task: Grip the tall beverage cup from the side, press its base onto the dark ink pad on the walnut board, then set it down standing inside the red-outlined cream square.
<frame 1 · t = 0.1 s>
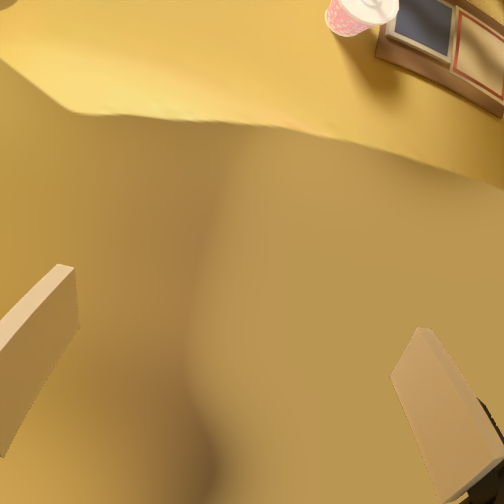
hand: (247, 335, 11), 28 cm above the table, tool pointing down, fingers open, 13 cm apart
beverage cup: (343, 20, 29), on the table
stamp board: (452, 39, 29), on the table
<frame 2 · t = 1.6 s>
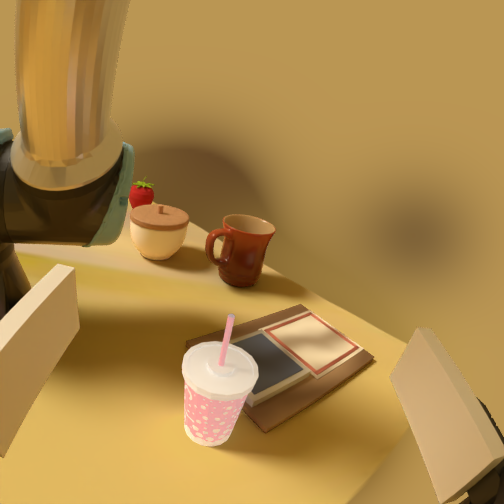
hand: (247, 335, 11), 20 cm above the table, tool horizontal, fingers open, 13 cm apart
strawberry: (139, 217, 74), on the table
beverage cup: (207, 428, 28), on the table
stamp board: (286, 357, 40), on the table
lidded jar: (155, 253, 59), on the table
mug: (230, 281, 56), on the table
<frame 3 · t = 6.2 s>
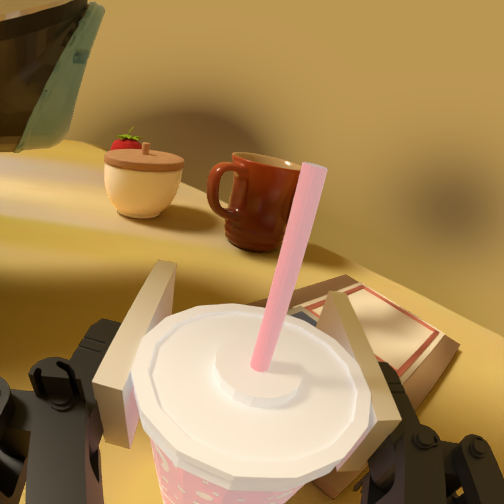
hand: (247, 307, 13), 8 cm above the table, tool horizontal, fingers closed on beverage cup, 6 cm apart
strawberry: (122, 178, 57), on the table
beverage cup: (214, 501, 11), on the table, touching gripper
stamp board: (343, 350, 24), on the table
lidded jar: (138, 212, 42), on the table
mug: (241, 245, 39), on the table
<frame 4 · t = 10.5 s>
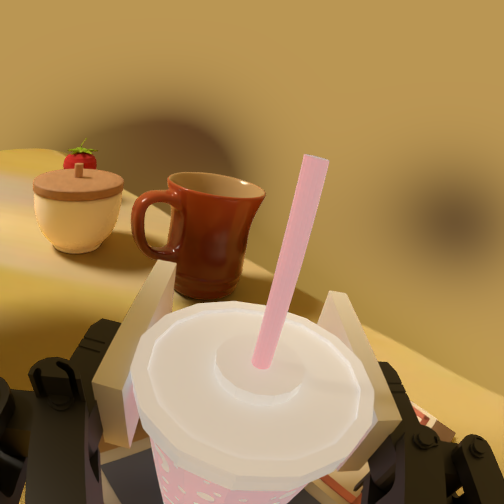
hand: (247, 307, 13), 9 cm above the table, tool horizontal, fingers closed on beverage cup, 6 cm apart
strawberry: (78, 196, 49), on the table
beverage cup: (215, 502, 11), point 2 cm above the table, touching gripper, stamp board
stamp board: (287, 462, 15), on the table
lidded jar: (77, 244, 34), on the table
mug: (186, 289, 31), on the table
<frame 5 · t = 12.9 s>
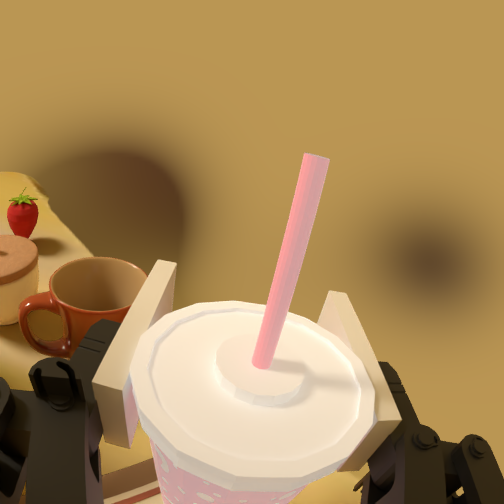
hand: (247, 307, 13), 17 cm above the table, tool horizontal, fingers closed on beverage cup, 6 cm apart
strawberry: (24, 244, 46), on the table
beverage cup: (215, 502, 11), point 10 cm above the table, touching gripper
lidded jar: (7, 311, 31), on the table
mug: (91, 373, 28), on the table
when the fingers open (9 cm above the table, at t = 14.9 s): beverage cup stays where it is, resting on stamp board.
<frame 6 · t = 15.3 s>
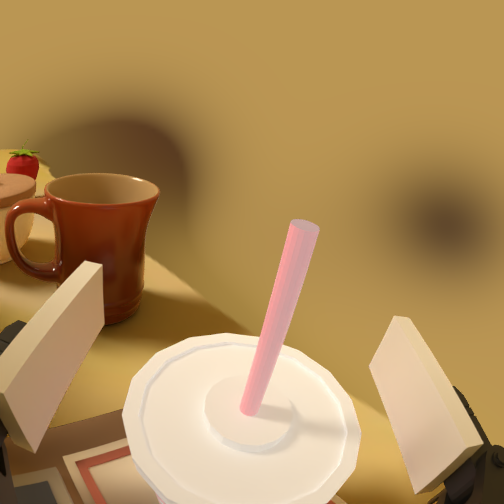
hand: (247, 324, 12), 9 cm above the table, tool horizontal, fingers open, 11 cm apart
strawberry: (22, 201, 42), on the table
mug: (83, 309, 24), on the table
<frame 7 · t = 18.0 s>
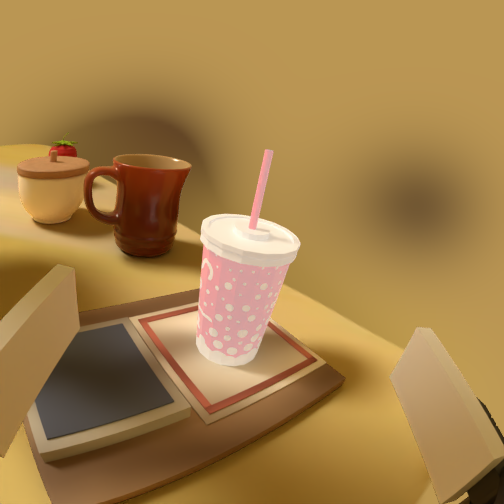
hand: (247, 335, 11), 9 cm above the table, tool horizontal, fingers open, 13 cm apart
strawberry: (61, 183, 54), on the table
beverage cup: (226, 346, 23), point 1 cm above the table, touching stamp board
stamp board: (166, 371, 21), on the table
lidded jar: (52, 217, 40), on the table
mug: (131, 249, 36), on the table
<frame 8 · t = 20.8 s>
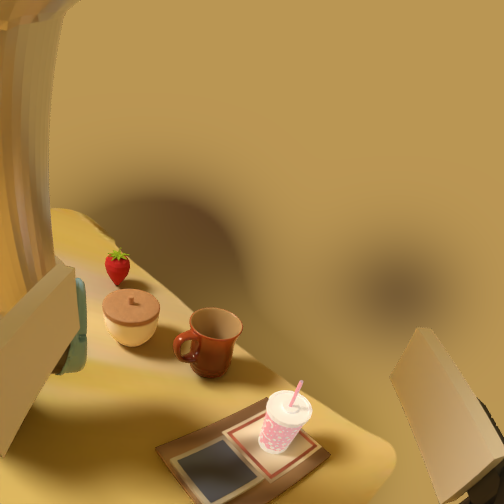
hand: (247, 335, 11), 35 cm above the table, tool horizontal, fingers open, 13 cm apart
strawberry: (117, 285, 73), on the table
beverage cup: (272, 442, 42), point 1 cm above the table, touching stamp board
stamp board: (246, 458, 39), on the table
lidded jar: (131, 337, 58), on the table
mug: (201, 369, 55), on the table
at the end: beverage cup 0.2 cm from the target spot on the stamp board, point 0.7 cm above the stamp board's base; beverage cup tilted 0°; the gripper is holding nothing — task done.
